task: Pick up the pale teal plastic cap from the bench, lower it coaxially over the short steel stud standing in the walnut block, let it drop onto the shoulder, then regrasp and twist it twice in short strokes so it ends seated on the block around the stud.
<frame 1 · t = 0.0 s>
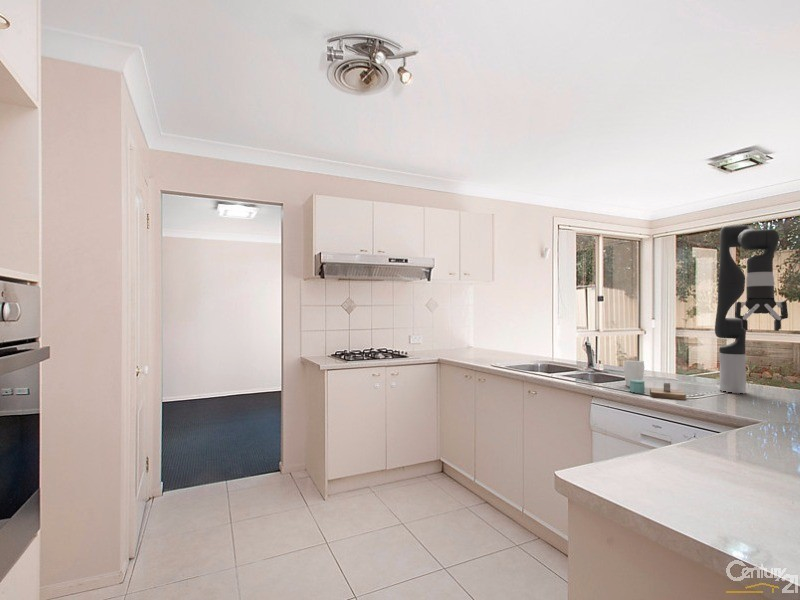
hand: (760, 330, 148), 29 cm above the counter, tool pointing down, fingers open, 8 cm apart
cup: (633, 386, 201), on the counter
stud block: (667, 396, 177), on the counter
cap: (637, 391, 186), on the counter
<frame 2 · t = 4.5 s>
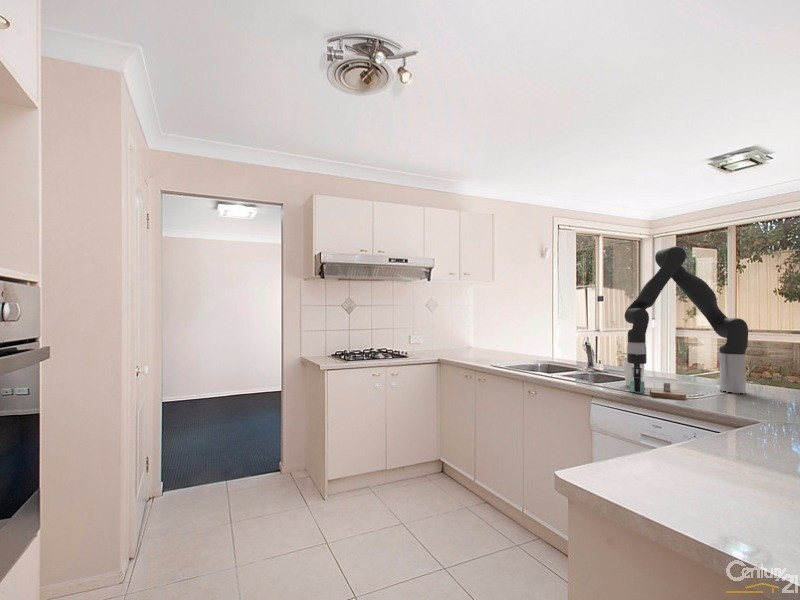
hand: (637, 390, 186), 1 cm above the counter, tool pointing down, fingers closed on cap, 5 cm apart
cap: (637, 391, 186), on the counter, touching gripper
everything else where it was.
when the fingers open (4 cm above the counter, at t = 9.1 s): cap stays where it is, resting on stud block.
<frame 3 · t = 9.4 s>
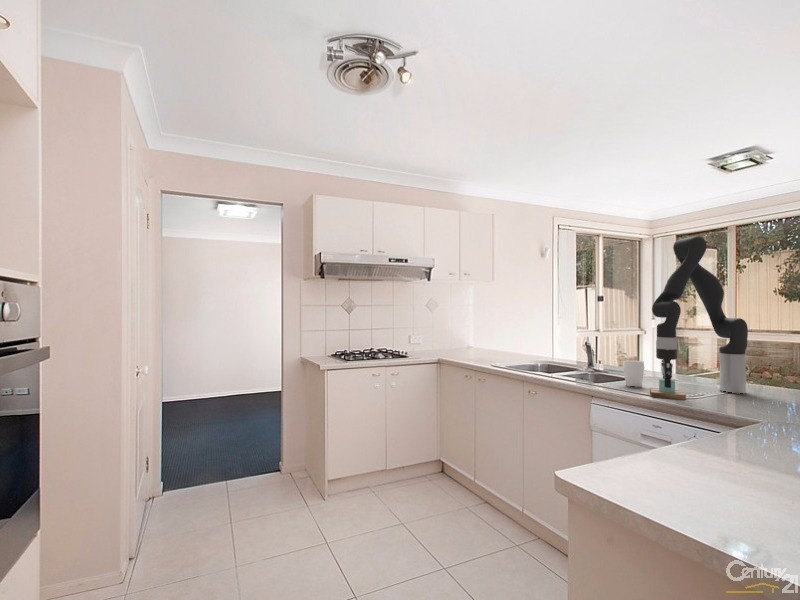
hand: (666, 385, 177), 4 cm above the counter, tool pointing down, fingers open, 8 cm apart
cap: (667, 391, 177), point 2 cm above the counter, touching stud block
everything else where it was.
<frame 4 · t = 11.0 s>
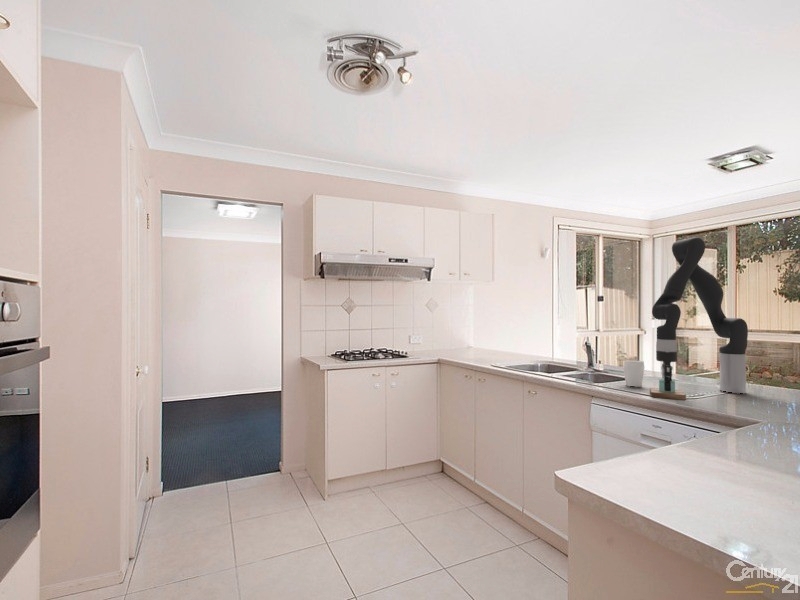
hand: (666, 389, 177), 3 cm above the counter, tool pointing down, fingers closed on cap, 5 cm apart
cap: (667, 391, 177), point 2 cm above the counter, touching gripper, stud block
everything else where it was.
when the fingers open (4 cm above the counter, at t = 15.3 s): cap drops 1 cm, resting on stud block.
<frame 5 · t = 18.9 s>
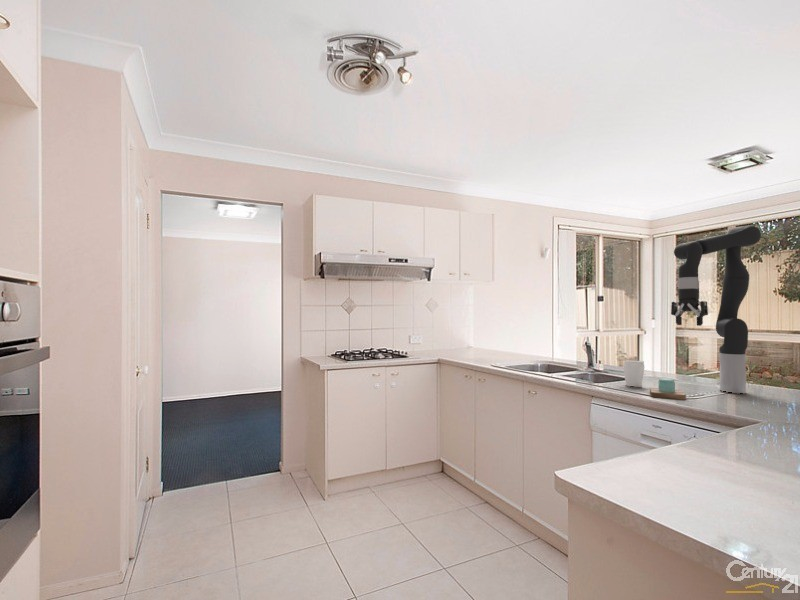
hand: (689, 325, 181), 30 cm above the counter, tool pointing down, fingers open, 8 cm apart
cap: (666, 391, 177), point 2 cm above the counter, touching stud block
everything else where it was.
at the end: cap 0.1 cm off-centre on the stud block, point 2.0 cm above the stud block's base; cap tilted 0°; the gripper is holding nothing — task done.
